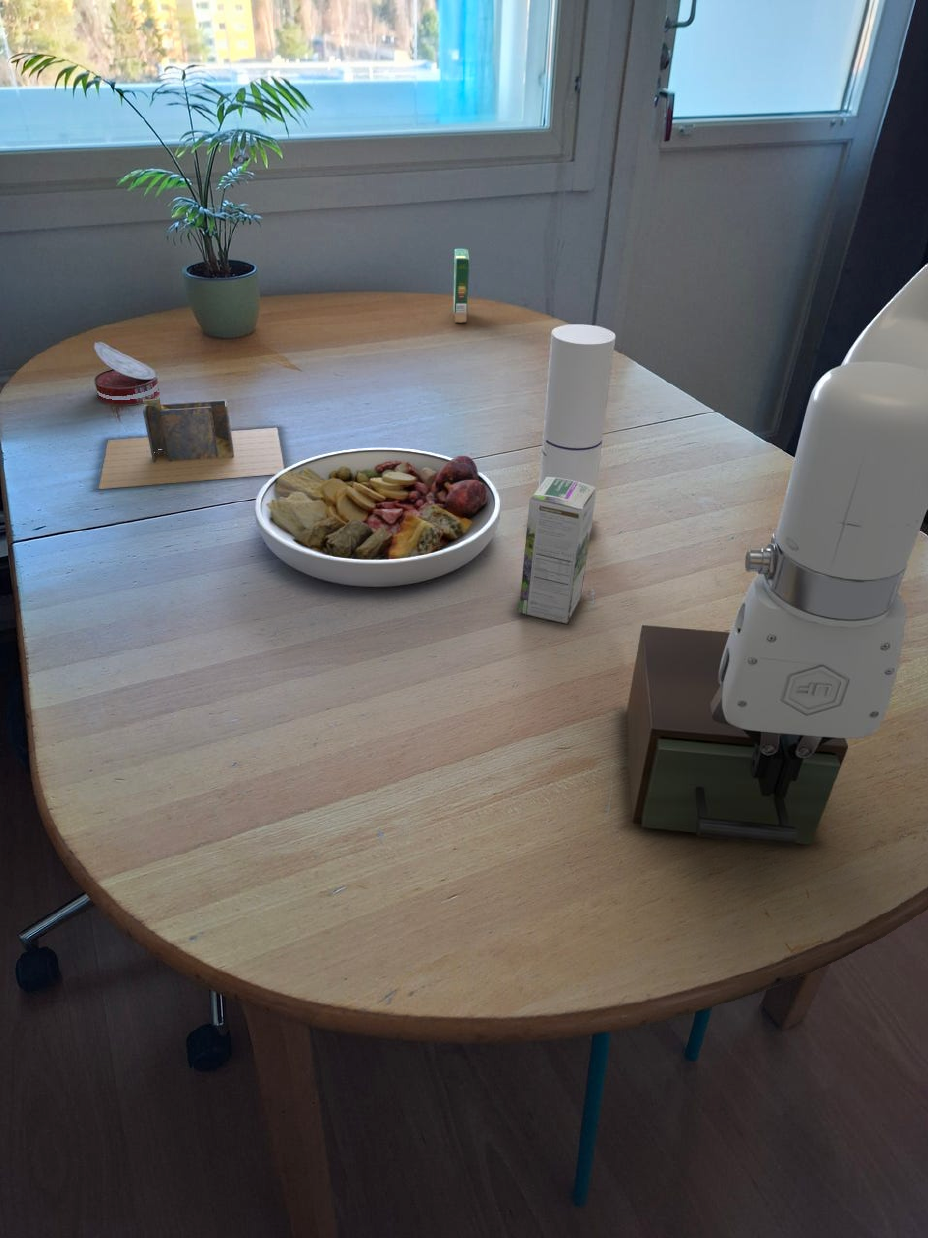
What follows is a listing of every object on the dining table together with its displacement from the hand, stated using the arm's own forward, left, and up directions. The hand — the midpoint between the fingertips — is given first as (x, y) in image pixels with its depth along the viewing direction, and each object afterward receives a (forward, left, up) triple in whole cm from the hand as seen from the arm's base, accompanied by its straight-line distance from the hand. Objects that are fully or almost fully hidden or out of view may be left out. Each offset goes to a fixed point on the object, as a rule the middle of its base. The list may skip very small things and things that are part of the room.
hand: (769, 782), depth 64 cm
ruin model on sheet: (+69, -65, -9) cm, 95 cm away
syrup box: (+16, -34, -9) cm, 39 cm away
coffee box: (+39, -139, -9) cm, 145 cm away
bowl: (+38, -47, -9) cm, 61 cm away
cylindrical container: (+15, -52, -9) cm, 55 cm away
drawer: (+1, -6, -8) cm, 10 cm away
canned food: (+88, -86, -9) cm, 124 cm away
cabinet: (+1, -10, -9) cm, 14 cm away
